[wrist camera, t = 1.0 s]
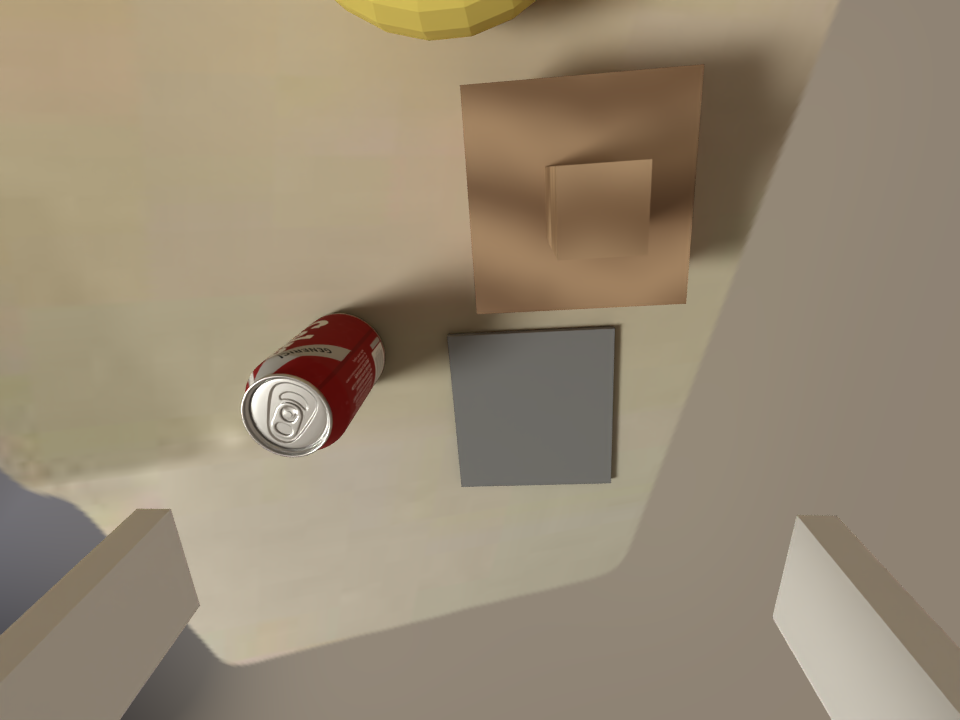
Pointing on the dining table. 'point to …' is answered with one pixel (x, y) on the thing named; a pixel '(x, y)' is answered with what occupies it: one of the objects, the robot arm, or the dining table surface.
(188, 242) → the dining table surface
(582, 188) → the lid
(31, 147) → the dining table surface
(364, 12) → the vase
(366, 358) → the soda can
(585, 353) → the mat
